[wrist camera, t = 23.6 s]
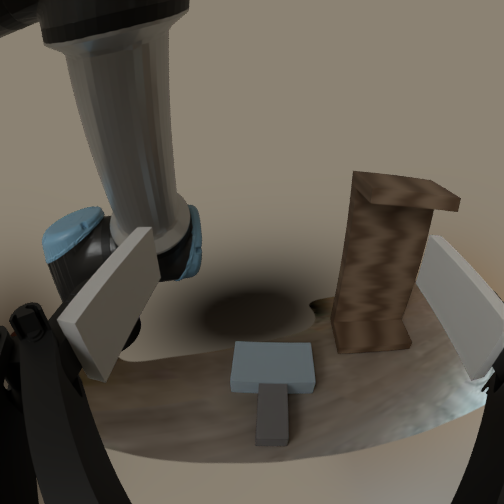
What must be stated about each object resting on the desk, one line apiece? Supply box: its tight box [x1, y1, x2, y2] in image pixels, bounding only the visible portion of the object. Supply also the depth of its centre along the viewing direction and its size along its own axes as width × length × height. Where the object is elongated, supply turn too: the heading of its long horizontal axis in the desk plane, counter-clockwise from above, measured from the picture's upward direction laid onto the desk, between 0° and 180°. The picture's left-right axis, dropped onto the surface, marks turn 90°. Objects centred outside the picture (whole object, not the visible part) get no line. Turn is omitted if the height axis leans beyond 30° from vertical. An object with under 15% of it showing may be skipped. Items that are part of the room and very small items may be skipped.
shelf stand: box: [331, 171, 461, 354], centre depth 41 cm, size 14×9×28 cm, turn 86°
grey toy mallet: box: [230, 341, 316, 446], centre depth 37 cm, size 12×17×3 cm
